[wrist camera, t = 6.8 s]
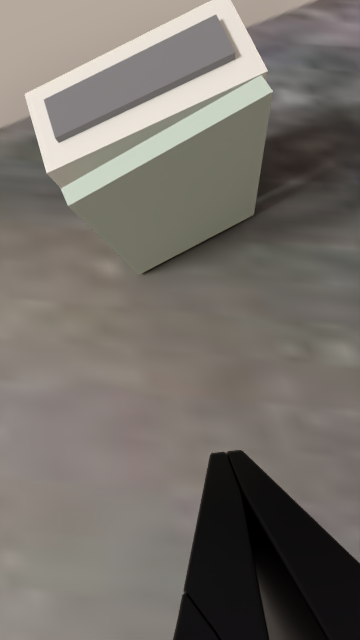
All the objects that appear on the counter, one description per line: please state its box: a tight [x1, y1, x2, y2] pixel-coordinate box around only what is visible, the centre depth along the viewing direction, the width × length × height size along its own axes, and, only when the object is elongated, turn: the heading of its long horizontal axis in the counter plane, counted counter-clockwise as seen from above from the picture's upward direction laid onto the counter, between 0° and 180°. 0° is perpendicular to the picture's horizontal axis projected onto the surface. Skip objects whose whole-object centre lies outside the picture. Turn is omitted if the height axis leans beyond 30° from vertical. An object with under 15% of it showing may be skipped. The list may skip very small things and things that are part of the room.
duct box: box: [25, 0, 268, 188], centre depth 18 cm, size 5×11×10 cm, turn 109°
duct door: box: [61, 75, 273, 275], centre depth 17 cm, size 1×10×10 cm, turn 115°
